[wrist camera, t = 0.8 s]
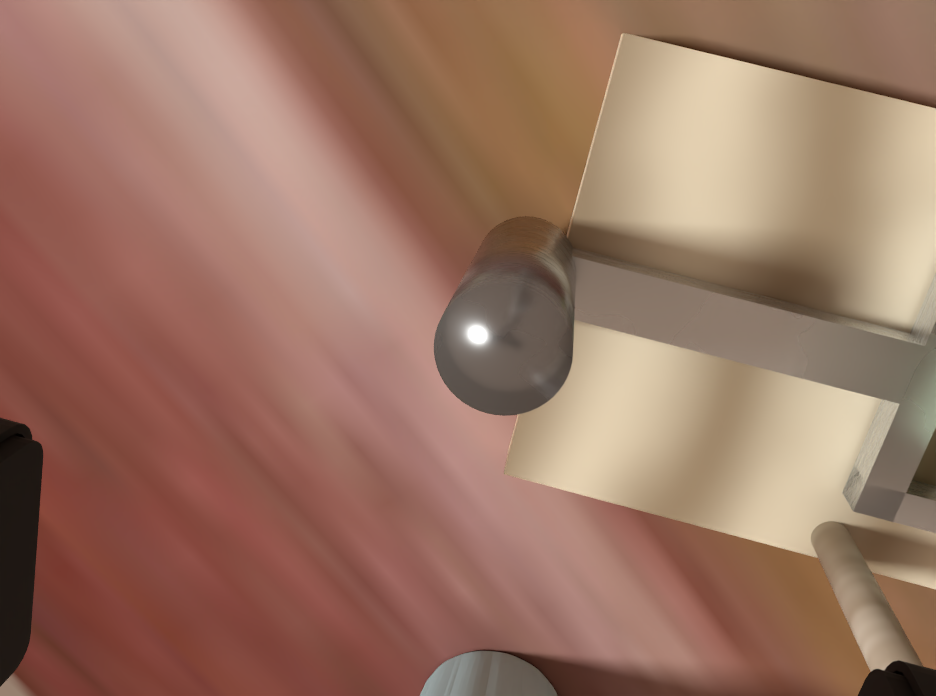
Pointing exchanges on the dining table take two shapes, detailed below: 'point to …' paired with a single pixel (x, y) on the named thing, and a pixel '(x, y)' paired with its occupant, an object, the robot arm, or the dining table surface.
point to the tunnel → (756, 271)
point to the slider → (686, 346)
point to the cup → (487, 677)
